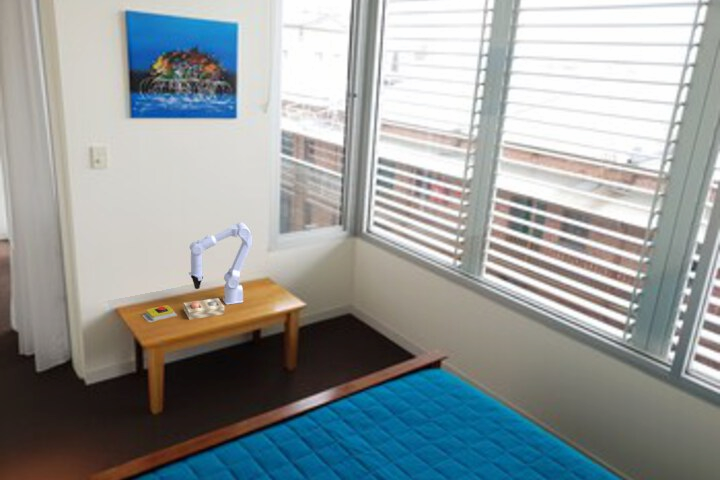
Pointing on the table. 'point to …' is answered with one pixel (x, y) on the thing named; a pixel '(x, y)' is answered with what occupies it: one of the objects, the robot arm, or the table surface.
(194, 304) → the terracotta button
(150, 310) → the emergency button
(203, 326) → the table surface
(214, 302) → the grey button
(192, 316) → the button panel
